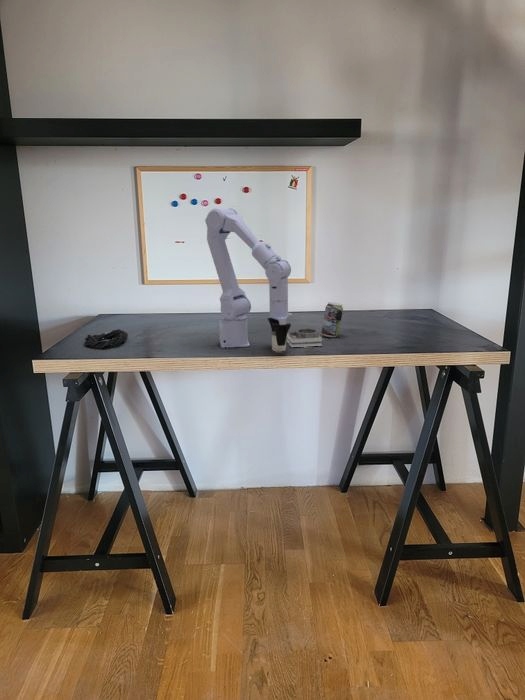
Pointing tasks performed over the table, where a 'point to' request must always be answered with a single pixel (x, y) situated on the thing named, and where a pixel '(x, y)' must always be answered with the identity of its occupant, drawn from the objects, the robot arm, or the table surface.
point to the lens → (275, 345)
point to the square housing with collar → (304, 338)
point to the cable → (115, 334)
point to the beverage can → (332, 319)
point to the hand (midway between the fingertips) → (279, 342)
